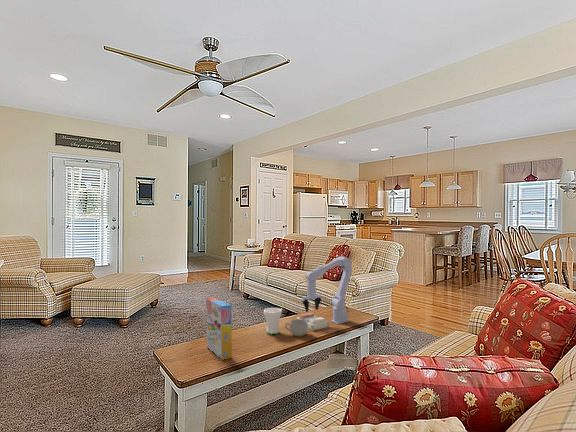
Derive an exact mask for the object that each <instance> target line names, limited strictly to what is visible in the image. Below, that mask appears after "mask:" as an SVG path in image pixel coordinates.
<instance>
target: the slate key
mask: <svg viewBox="0 0 576 432" xmlns="http://www.w3.org/2000/svg"><path fill="white" fill-rule="evenodd" d="M314 316H315V317H310V318H305V319H304V320H306V321H307V322H309V319H314V318H319V317H320V316H316V315H314Z"/></svg>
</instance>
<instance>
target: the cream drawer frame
mask: <svg viewBox="0 0 576 432" xmlns="http://www.w3.org/2000/svg"><path fill="white" fill-rule="evenodd" d="M315 316H316V315H314V317H315ZM295 319H300V318H299V316H297V317H295ZM303 320H304V319H303ZM329 327H330V322H329V321H328V320H325V322H323V323H318V324H313V325H312V324H310V323H309V322H308V330H309V331H311V332H314V331H315V332H316V331H319V330H325V329H328V328H329Z"/></svg>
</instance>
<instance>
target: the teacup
mask: <svg viewBox="0 0 576 432" xmlns="http://www.w3.org/2000/svg"><path fill="white" fill-rule="evenodd" d="M287 325H289V327H290V328H289V327H287ZM284 328H285V329H286V330H287V331H288V332H289V333H291V334H292V335H293V336H294V337H299V338H300V337H303V336H305V335H307V333H308V330H309V329H308V322H307V321H306V320H303V319H296V318H294V319H292V320H290V322H286V323H285V324H284Z"/></svg>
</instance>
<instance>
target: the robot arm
mask: <svg viewBox="0 0 576 432" xmlns="http://www.w3.org/2000/svg"><path fill="white" fill-rule="evenodd" d="M352 263H353V261H351V258H349V257H345V256H342V255H340V256H338V257H336V258H334V259H332V260H331V261H329V262H328V263H327V264H325V265H318V266H317V267H316V268H314V269H311V270H310V271H309V270H308V271H307V273H306V275H305V278H306V285H307V286H306V289H307V290H306V293H307V294H306V295H307V296H306V295H305V296H304V297H301V302H302V304H303V306H304V309H305V312H306V313H309V306H310V300H314V308H315V310H317V311H318V310H319V306H320V304H321V302H322V294H317V279H318V278H319V277H321V276H323V275H325V274H326V273H327V271H328V270H330V269H332V268H335V267H337V266H338V267H341V270H342V275H341V278H340V280H339V281H340V282H339V285H338V289H337V292H336V293H335V294H334V295H333V297H332V299H331V301H330V302H331V303H330V304H331V305H332V319H331V320H330V322H332V323H335V324H337V325H339V324H345V323H348V322H349V321H348V310H347V308H346V293H347V289H348V286H349V282H350V278H351V276H352V274H353V273H352V272H353V269H352V268H353V267H352Z"/></svg>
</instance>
